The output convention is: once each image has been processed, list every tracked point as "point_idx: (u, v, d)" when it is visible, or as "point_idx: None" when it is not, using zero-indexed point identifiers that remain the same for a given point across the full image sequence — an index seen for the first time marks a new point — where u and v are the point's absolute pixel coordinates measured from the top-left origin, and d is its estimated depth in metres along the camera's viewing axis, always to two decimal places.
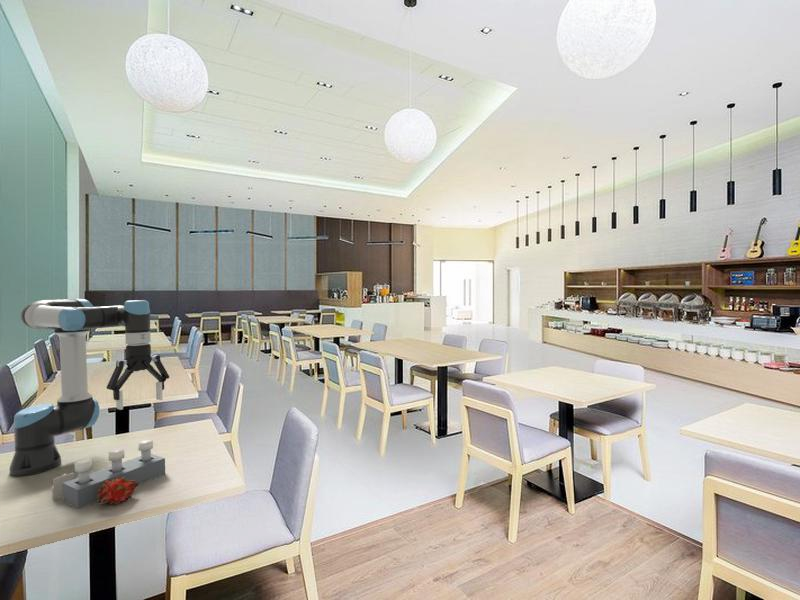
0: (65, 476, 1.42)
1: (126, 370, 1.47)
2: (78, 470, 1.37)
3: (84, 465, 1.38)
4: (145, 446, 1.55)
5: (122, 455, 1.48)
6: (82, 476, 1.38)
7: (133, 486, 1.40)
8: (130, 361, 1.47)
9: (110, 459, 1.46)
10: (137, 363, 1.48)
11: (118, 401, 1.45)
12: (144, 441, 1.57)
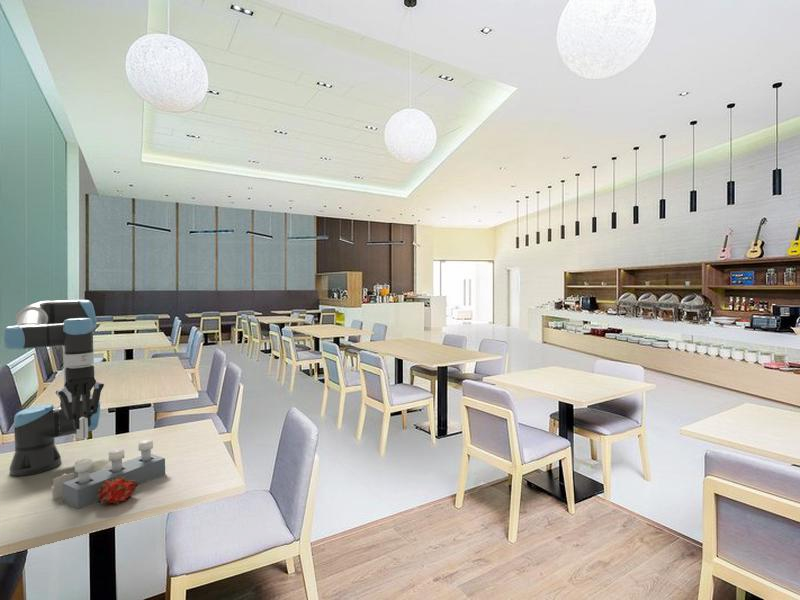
0: (65, 476, 1.43)
1: (73, 397, 1.37)
2: (78, 470, 1.37)
3: (84, 465, 1.38)
4: (145, 446, 1.55)
5: (122, 455, 1.48)
6: (82, 476, 1.38)
7: (133, 486, 1.40)
8: (69, 386, 1.35)
9: (110, 459, 1.46)
10: (78, 387, 1.36)
11: (78, 431, 1.38)
12: (144, 441, 1.57)
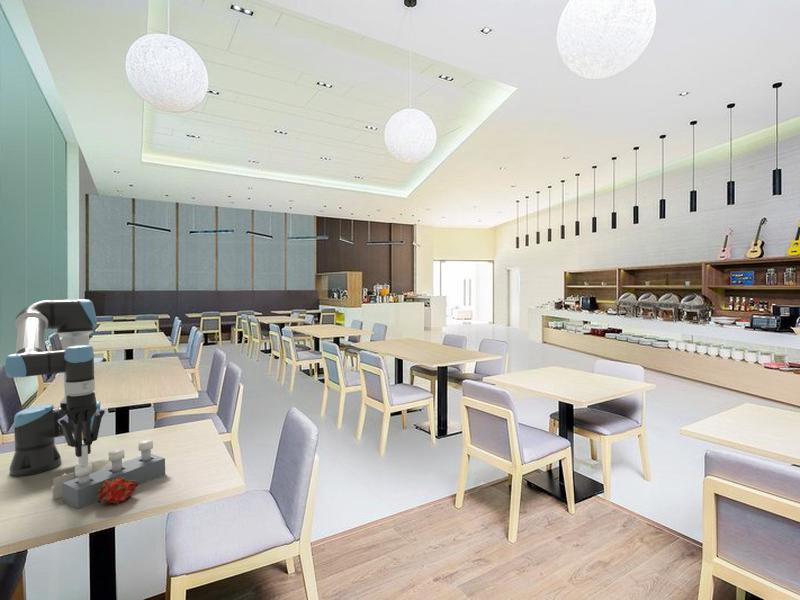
0: (65, 476, 1.43)
1: (74, 424, 1.38)
2: (78, 474, 1.37)
3: (84, 469, 1.38)
4: (145, 446, 1.55)
5: (122, 455, 1.48)
6: (82, 480, 1.38)
7: (133, 486, 1.40)
8: (70, 414, 1.35)
9: (110, 459, 1.46)
10: (79, 415, 1.37)
11: (81, 458, 1.39)
12: (144, 441, 1.57)
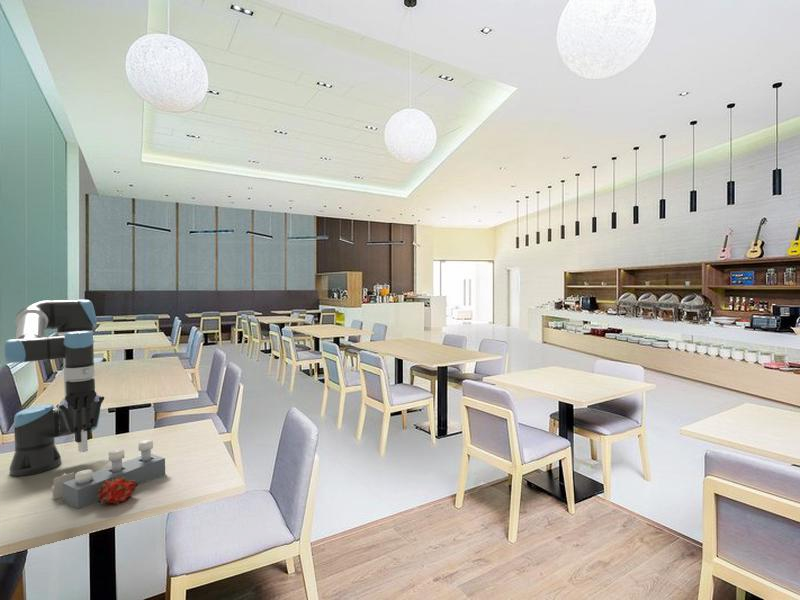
0: (65, 476, 1.43)
1: (73, 410, 1.38)
2: (78, 481, 1.37)
3: (84, 476, 1.38)
4: (145, 446, 1.55)
5: (122, 455, 1.48)
6: None
7: (133, 486, 1.40)
8: (70, 399, 1.35)
9: (110, 459, 1.46)
10: (78, 401, 1.37)
11: (80, 444, 1.39)
12: (144, 441, 1.57)
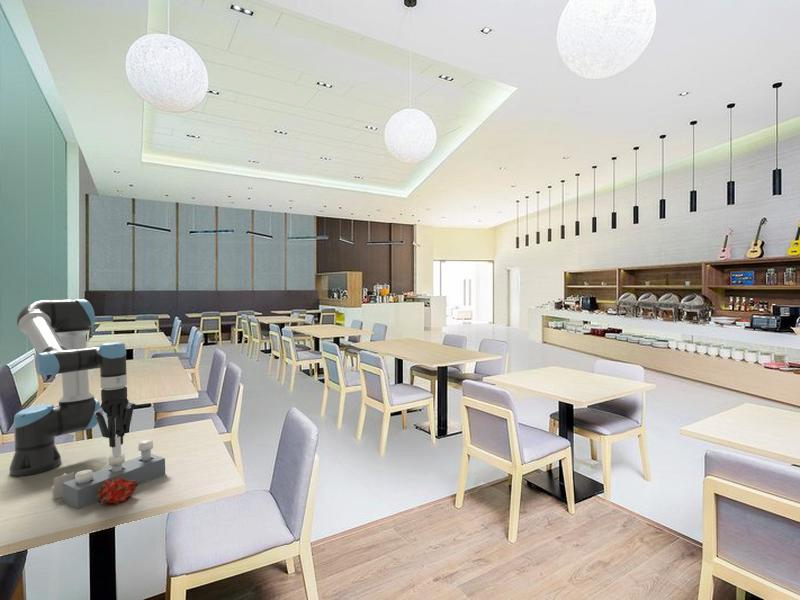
0: (65, 476, 1.43)
1: (108, 417, 1.46)
2: (78, 481, 1.37)
3: (84, 476, 1.38)
4: (145, 446, 1.55)
5: (122, 459, 1.48)
6: None
7: (133, 486, 1.40)
8: (105, 407, 1.44)
9: (110, 464, 1.46)
10: (113, 408, 1.45)
11: (114, 448, 1.47)
12: (144, 441, 1.57)
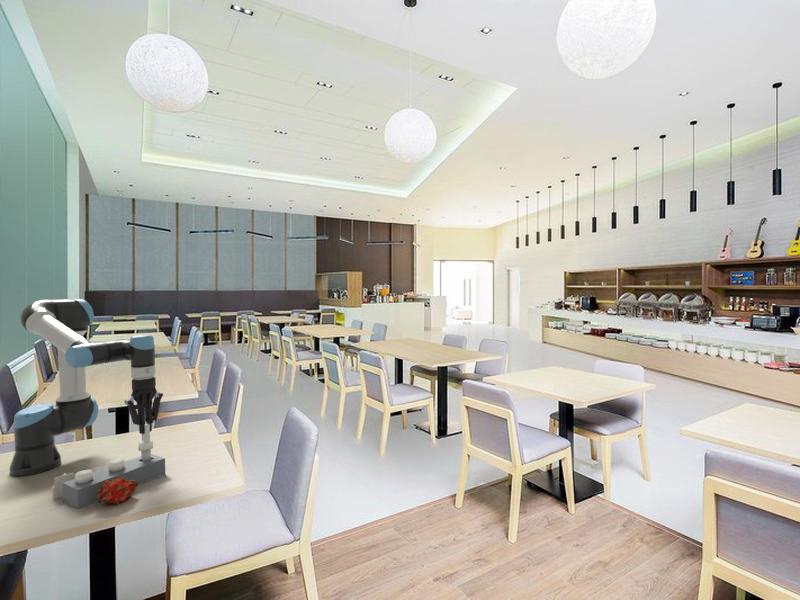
0: (65, 476, 1.43)
1: (138, 405, 1.55)
2: (78, 481, 1.37)
3: (84, 476, 1.38)
4: (145, 446, 1.55)
5: (122, 465, 1.48)
6: None
7: (133, 486, 1.40)
8: (135, 395, 1.53)
9: (110, 469, 1.46)
10: (143, 397, 1.54)
11: (144, 435, 1.56)
12: None
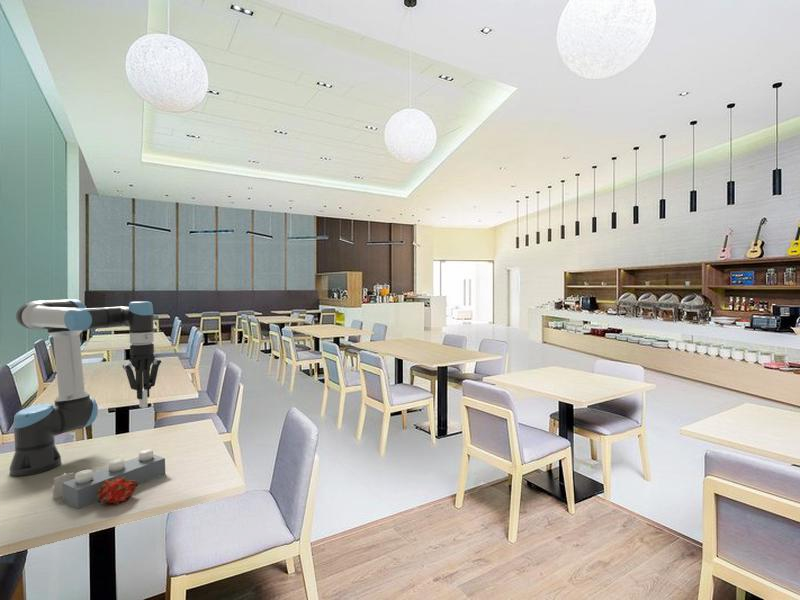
0: (65, 476, 1.43)
1: (136, 371, 1.56)
2: (78, 481, 1.37)
3: (84, 476, 1.38)
4: (145, 456, 1.55)
5: (122, 465, 1.48)
6: None
7: (133, 486, 1.40)
8: (134, 360, 1.54)
9: (110, 469, 1.46)
10: (141, 362, 1.55)
11: (141, 401, 1.57)
12: (144, 451, 1.57)
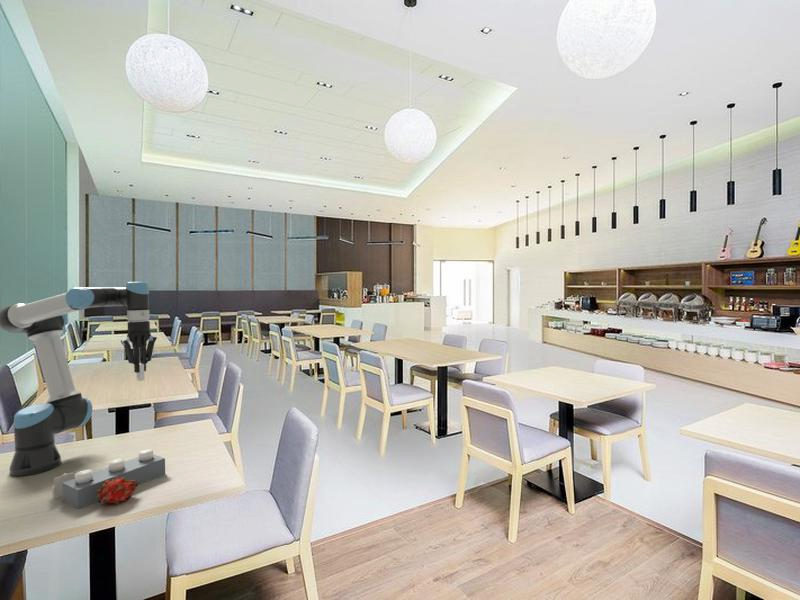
0: (66, 475, 1.43)
1: (133, 346, 1.68)
2: (78, 481, 1.37)
3: (84, 476, 1.38)
4: (145, 456, 1.55)
5: (122, 465, 1.48)
6: None
7: (133, 486, 1.40)
8: (131, 336, 1.65)
9: (110, 469, 1.46)
10: (138, 338, 1.67)
11: (138, 374, 1.69)
12: (144, 451, 1.57)
